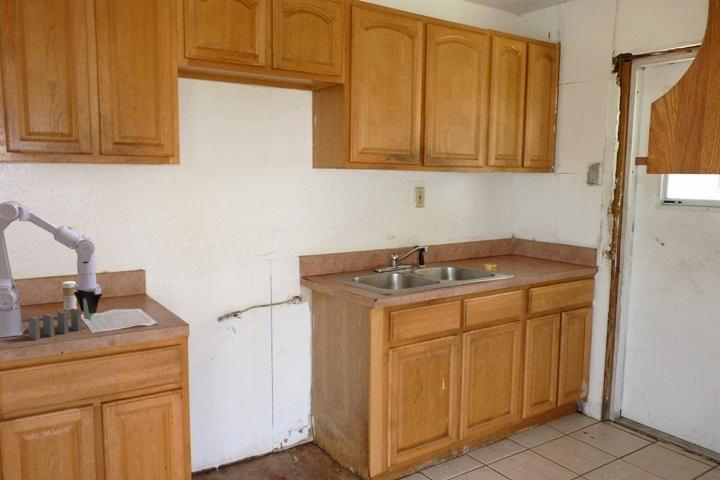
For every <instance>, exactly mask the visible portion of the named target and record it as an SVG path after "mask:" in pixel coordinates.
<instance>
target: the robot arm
mask: <svg viewBox="0 0 720 480" xmlns="http://www.w3.org/2000/svg"><path fill="white" fill-rule="evenodd" d="M17 220H18V222H29V223H32V224H34V225H35V226H37V227H39V228H41V229H43V230H44V231H46V232H48V233H50V234H53V239H54V240H55V241H56V242H58V243H60V244H62V245H63V246H65V247H67V248H69V249H70V250H74V251H75V253H76V254H77V255H76V256H77V260H76V269H77V272H76V273H77V283H76V284H74V290H76V292H74V295H75V296H76V299H77V303H78V305H79V308H80V310H81V313H82V312H83V313H84V308H83V299H84V298H85V299H86V301H87V305H88V311H89V314H93V313H94V314H96V313H97V312H98V311H97V309H98V307H99V301H100V300H101V297H102V296H103V292H102V288H101V287H100V284H98V283H97V272H96V270H97V268H96V266H97V265H96V259H95V257H96V256H95V249H96V246H95V245H96V244H95V242H94V241H92V240H91V238H88V237H86V235H85V234H80V233H78V232H77V231H75V230H73V227H72V226H67V225H61V226H60V225H57V224H56V223H54V222H53V221H51V220H49V219H48V218H47V217H44V216H43V215H41V214H40V213H38V212H37V211H35V210H33V209H32V208H30V207H28V206H26V205H22V204H20V203H19V202H18V201H15V200H12V201H11V200H10V201H4V202H1V203H0V338H8V337H18V336H22V335H24V332H25V330H26V328H23V323H22V310H21V308H22V307H21V304H19V300H20V298H21V292H20V290H19V288H17V286H16V283H15V280H14V278H13V274H12V269H11V265H10V258H9V254H8V249H7V243H6V238H5V232H4V231H5V230H6V229H7V228H8V227H9V226H10V225H11V223H13V222H15V221H17Z"/></svg>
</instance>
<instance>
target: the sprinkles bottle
mask: <svg viewBox="0 0 720 480" xmlns="http://www.w3.org/2000/svg"><path fill="white" fill-rule="evenodd" d="M74 284H77V282H76V281H74V280H68V281H63V282H62V283H61V286H62V287H61V288H62V294H63V295H62V297H63V301H62V302H63V312H66V313H67V314H68V319H71V313H70V309H78V300H77V298H76V296H75V295H74V292H77V290H74Z"/></svg>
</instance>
